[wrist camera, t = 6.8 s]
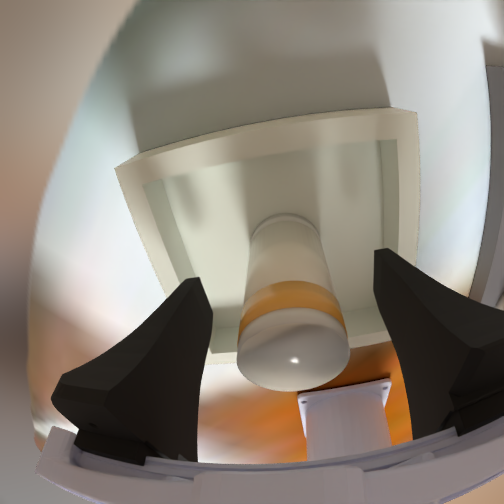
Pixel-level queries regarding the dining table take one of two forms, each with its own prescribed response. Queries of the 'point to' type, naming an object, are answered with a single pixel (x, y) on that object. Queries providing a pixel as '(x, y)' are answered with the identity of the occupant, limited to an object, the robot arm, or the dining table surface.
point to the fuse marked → (290, 309)
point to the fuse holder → (493, 204)
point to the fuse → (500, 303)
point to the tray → (280, 207)
